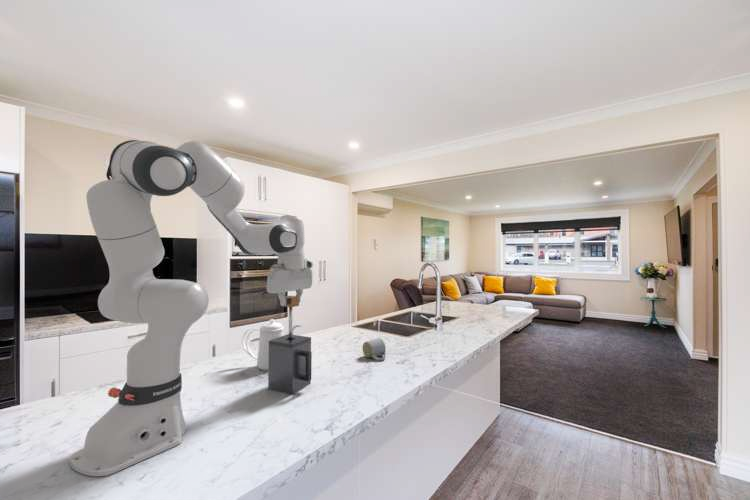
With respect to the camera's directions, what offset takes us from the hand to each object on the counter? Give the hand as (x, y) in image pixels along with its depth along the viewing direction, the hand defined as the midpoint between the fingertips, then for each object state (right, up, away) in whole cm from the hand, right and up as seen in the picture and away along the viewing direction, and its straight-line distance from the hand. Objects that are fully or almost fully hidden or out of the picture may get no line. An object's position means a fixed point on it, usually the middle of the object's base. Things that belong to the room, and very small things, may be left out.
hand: (290, 303), depth 114 cm
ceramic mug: (+29, -29, +32) cm, 52 cm away
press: (+1, -28, -1) cm, 28 cm away
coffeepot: (-12, -28, +20) cm, 37 cm away
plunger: (0, -17, 0) cm, 17 cm away
